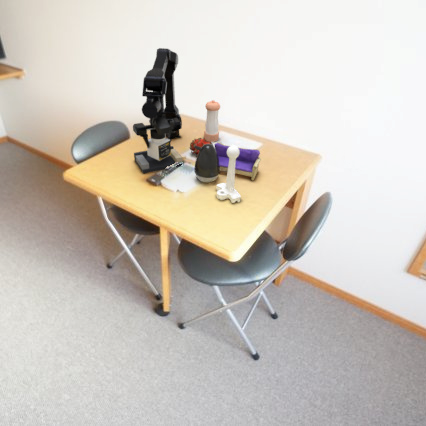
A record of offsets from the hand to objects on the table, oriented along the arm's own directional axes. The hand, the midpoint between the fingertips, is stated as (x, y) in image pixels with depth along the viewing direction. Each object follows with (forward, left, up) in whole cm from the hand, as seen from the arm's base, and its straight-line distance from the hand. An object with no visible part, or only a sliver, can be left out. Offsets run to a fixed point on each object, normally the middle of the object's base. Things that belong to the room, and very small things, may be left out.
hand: (158, 146), depth 133 cm
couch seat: (0, -1, -9) cm, 9 cm away
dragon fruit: (-21, -2, -9) cm, 23 cm away
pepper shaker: (-33, -15, -9) cm, 37 cm away
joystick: (-14, +33, -9) cm, 37 cm away
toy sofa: (-26, +18, -9) cm, 33 cm away
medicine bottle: (0, 0, -5) cm, 5 cm away
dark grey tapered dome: (-13, +19, -9) cm, 25 cm away
